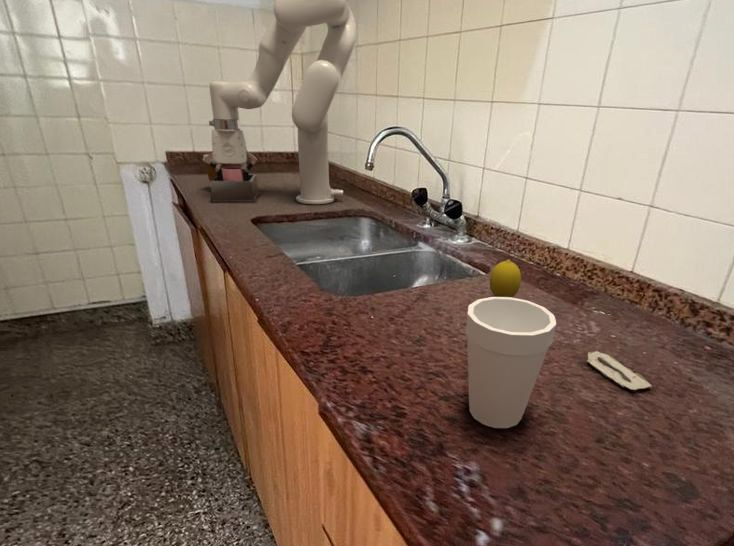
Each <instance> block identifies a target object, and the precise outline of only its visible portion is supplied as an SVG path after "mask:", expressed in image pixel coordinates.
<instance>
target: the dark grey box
mask: <svg viewBox="0 0 734 546" xmlns="http://www.w3.org/2000/svg"><path fill="white" fill-rule="evenodd" d="M209 184H210V190H211V191H210V192H211V197H212V203H213V204H214V203H215V204H217V203H219V204H223V203H224V204H225V203H227V204H229V203H230V204H231V203H232V204H235V203H237V204H240V203H241V204H242V203H243V204H254V203H255V201H256V200H257V198H258V196H259V190H258V180H257V174H249V181H218V177H217V175H216V176H215V177H214V178H213V179H212V180H210V181H209Z"/></svg>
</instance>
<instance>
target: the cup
mask: <svg viewBox="0 0 734 546" xmlns="http://www.w3.org/2000/svg"><path fill="white" fill-rule="evenodd" d="M221 172H222V180H223V181H244V178H243V172H244V169H243V168H242V166H231V167H223V168H221Z"/></svg>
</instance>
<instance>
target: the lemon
mask: <svg viewBox="0 0 734 546" xmlns="http://www.w3.org/2000/svg"><path fill="white" fill-rule="evenodd" d="M521 273H522V272H521V270H520V268H519V266H518V265H517V264H516V263H514V262H512V261H511V260H510V259H506V260H505V261H500V262H499V263H497V264H496V265H495V266H494V267H493V269H492V271H491V274H490V278H489V288H490V291H491V293H492V294H493V296H494V297H512V298H514V297H515V295H517V293H518V292H519V290H520V286H521V283H522V275H521Z"/></svg>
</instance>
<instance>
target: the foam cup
mask: <svg viewBox="0 0 734 546" xmlns="http://www.w3.org/2000/svg"><path fill="white" fill-rule="evenodd" d="M465 323H466V324H465V334H466V341H467V347H466V348H467V379H468V380H467V381H468V407H469V413H470V414H471V416H472V417H473V419H475V420H476V421H477V422H479V423H480V424H481V425H484V426H487V427H491V428H493V429H509V428H512V427H515V426H517V425H518V424H519V423H520V421H521V420H522V419H523V416H524V415H525V411H526V409H527V406H528V404H529V401H530V398H531V396H532V393H533V390H534V387H535V386H536V382H537V380H538V377H539V374H540V371H541V369H542V367H543V364H544V361H545V358H546V356H547V353H548V350H549V348H550V347H551V346H552V344H553V342H554V337H555V332H556V328H557V320H556V317H555V314H554V313H552V312H551V311H550V310H548V309H547V308H546V307H544V306H542V305H540V304H537V303H536V302H533V301H530V300H526V299H521V298H516V297H496V296H490V297H489V296H488V297H485V298H480V299H476V300H474V301H473V302H472V303H470V304H468V307H467V315H466V322H465Z"/></svg>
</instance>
